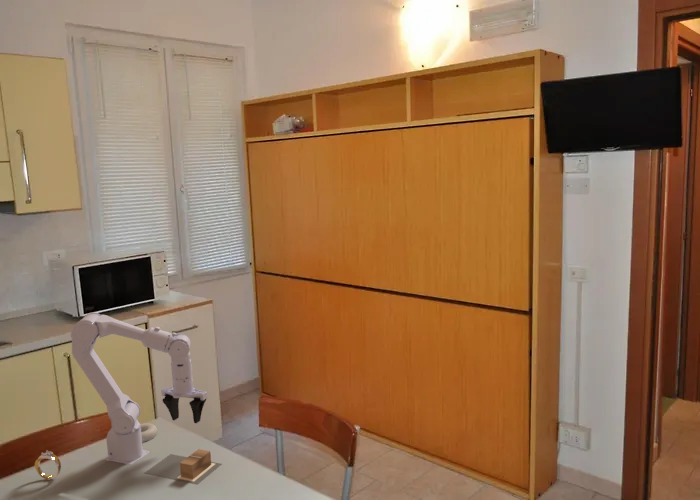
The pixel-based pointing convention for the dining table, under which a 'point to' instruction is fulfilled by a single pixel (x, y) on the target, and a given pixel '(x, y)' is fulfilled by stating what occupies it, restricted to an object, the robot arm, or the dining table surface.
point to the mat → (178, 469)
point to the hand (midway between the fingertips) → (186, 420)
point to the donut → (148, 431)
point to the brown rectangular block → (195, 464)
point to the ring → (52, 457)
